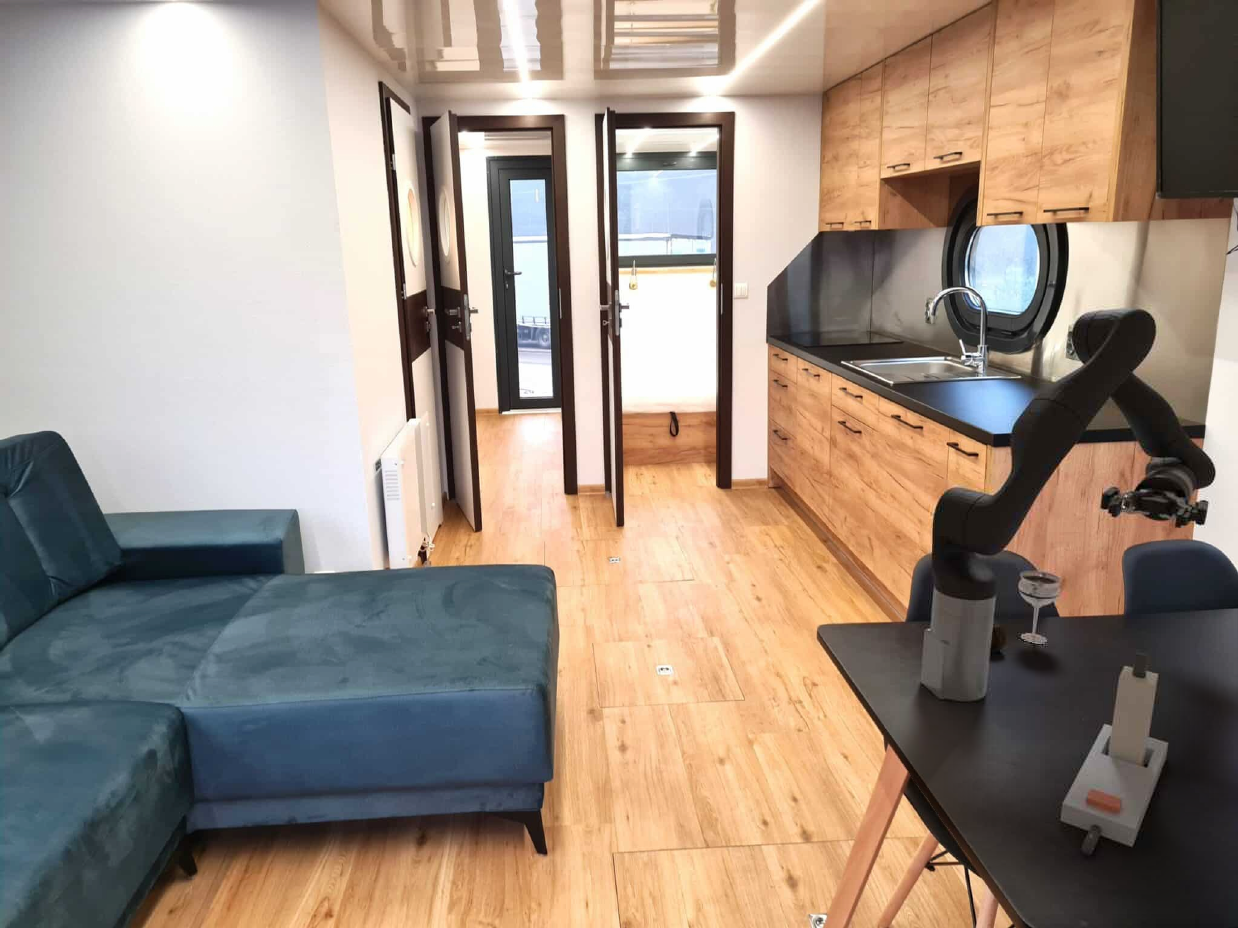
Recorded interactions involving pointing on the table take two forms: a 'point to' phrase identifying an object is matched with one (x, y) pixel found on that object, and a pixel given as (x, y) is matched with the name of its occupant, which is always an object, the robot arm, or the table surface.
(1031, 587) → the wineglass
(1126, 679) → the plug
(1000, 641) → the bolt
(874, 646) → the table surface
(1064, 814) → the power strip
